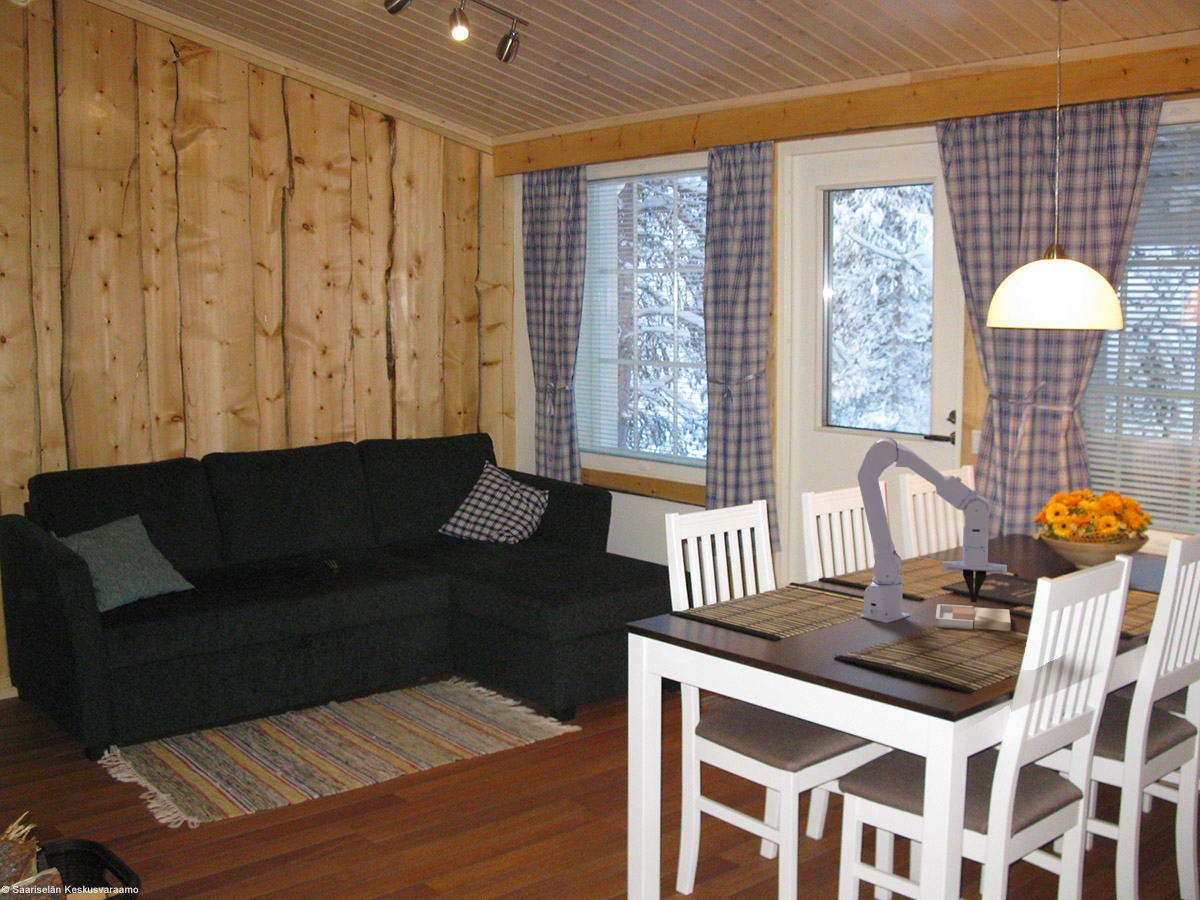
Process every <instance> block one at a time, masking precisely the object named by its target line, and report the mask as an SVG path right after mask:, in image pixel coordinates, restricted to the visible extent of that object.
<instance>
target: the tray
mask: <svg viewBox="0 0 1200 900" xmlns="http://www.w3.org/2000/svg"><path fill="white" fill-rule="evenodd" d="M953 608H968V609H974V605H973V606H972V605H957V604H944V603H942V604H941V603H937V604H936V612H935V627H936V628H949V629H963V630H974V622H973V620H962V619H952V617H953Z"/></svg>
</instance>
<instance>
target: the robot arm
mask: <svg viewBox="0 0 1200 900" xmlns="http://www.w3.org/2000/svg"><path fill="white" fill-rule="evenodd" d="M894 463H895V467H897V468H908V469H910V470H911V471H913V472H914V473H916V474H917V475H918V476H919V477H921V478H923V479H924V480H926V481H927V482H929V483H930V484H932V485H933V486H935V492H936V495H938V496H939V497H940V498H942V499H943V500H944V501H946V502H947V503H948V504H949V505H951V506H952V507H954V508H955V509H957V510H959V511H962V512H963V515H964V525H963V531H962V533H963V534H962V535H963V536H962V561H961V560H959V561H957V560H956V561H955V560H953V561H952V560H950V561H947V560H946V561H945V560H943V561H942V571H943V572H944V571H945V572H948V571H955V572H956V571H957V572H962V577H963V579H964V581H965V583H966V586H967V589H968V592H969V593H968V594H969V598H970V603H978V598H979V597H978V596H979V593H980V590H981V588H982V586H983V583H984V582H985V580H986V578H987V574H988V573H989V574H1001V575H1007V574H1008V565H1007V564H1001V563H1000V564H999V563H992V562H989V561H988V559H989V558H988V557H989V556H988V555H989V554H988V553H989V534H990V533H989V532H990V531H989V530H990V529H989V526H988V525H989V519H988V518H989V516H990V514H991V510H990V504H989V502H988V500H987V498H986V497H985V496H984V495H983V494H980V493H978V491H977V490H976V489H972V488H970V487H968V486H967V485H966V484H965V483H963V482H962V478H961V477H959V476H956V477H955V476H954V475H951V474H950V475H943V474H942V473H941V472H939V471H938V470H937V469H936V468H934V467H933V466H932V465H930V463H928V462H927V461H925V460H924V459H923V458H921V457H920V456H919V455H917V453H915V452H914V451H913V450H911V449H910V448H909V447H907V446H905V445H904V444H901V443H900V442H899V443H898V442H897V441H896V440H895V439H894V438H891V437H888V436H884V437H880V438H879V439H877V440H876V441H875V442H874V443H873V444H872V445H871V447H869V449H868V451H867V452H866V454H865V456H864V458H863V460H862V463H861V465H860V468H859V470H858V472H857V480H858V481H857V482H858V486H859V490H860V495H861V498H862V504H863V506H864V507H863V508H864V512H865V516H866V520H867V525H868V530H869V534H870V535H869V536H870V539H871V543H872V551H873V557H874V558H873V559H874V564H873V568H872V572H873V576H872V581H871V583H870V585H868V586H866V588H865V590H864V592H863V614H860V617H861V618H864V619H868V620H873V621H878V622H881V623H885V624H888V623H891V622H895V621H898V620H901V619H904V618H907V617H910V614H909V613H905V612H903V581H904V579H903V578H902V577H900V573H901V569H902V567H903V562H902V561H903V560H902V559H901V556H900V555H899V554H898V552H897V551H896V548H895V544H894V542H893V540H892V539H893V538H892V535H891V530H890V526H889V522H888V517H887V513H886V507H885V505H884V500H883V496H882V491H881V486H880V482H879V479H880V477H881V475H882V474H883V472H884V470H886V469H887V468H888V467H890V466H891V465H893V464H894Z"/></svg>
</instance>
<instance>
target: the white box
mask: <svg viewBox="0 0 1200 900" xmlns="http://www.w3.org/2000/svg"><path fill="white" fill-rule="evenodd" d="M973 609H974V611H975V616H974V622H973V629H978V630H979V629H980V630H994V631H1006V632H1007V631H1008V632H1011V629H1012V628H1011V627H1012V626H1011V623H1012V621H1011V615H1010V614H1011V613H1010V609H1004V608H989V607H974V606H973Z"/></svg>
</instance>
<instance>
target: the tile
mask: <svg viewBox="0 0 1200 900" xmlns="http://www.w3.org/2000/svg"><path fill="white" fill-rule="evenodd" d="M974 616H975V611H974V608H973V609H968V608H953V617H952V619H962V620H973V623H974Z"/></svg>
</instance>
